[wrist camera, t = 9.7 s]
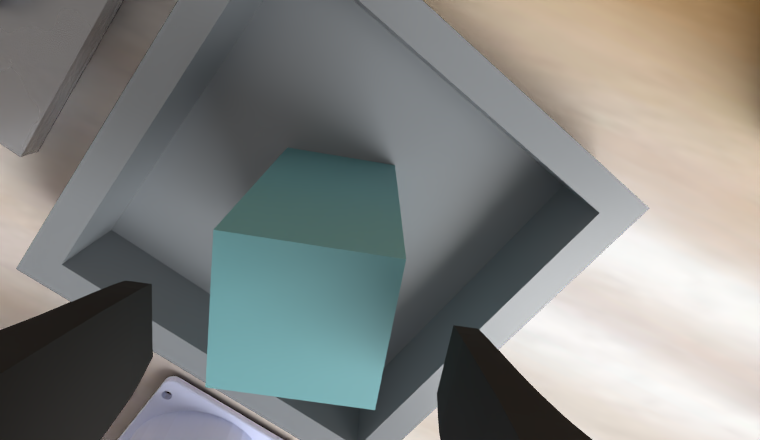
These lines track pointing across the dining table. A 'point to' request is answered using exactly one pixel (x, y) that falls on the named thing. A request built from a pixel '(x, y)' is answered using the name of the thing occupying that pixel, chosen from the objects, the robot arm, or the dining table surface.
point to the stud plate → (44, 62)
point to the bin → (341, 138)
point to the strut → (307, 281)
